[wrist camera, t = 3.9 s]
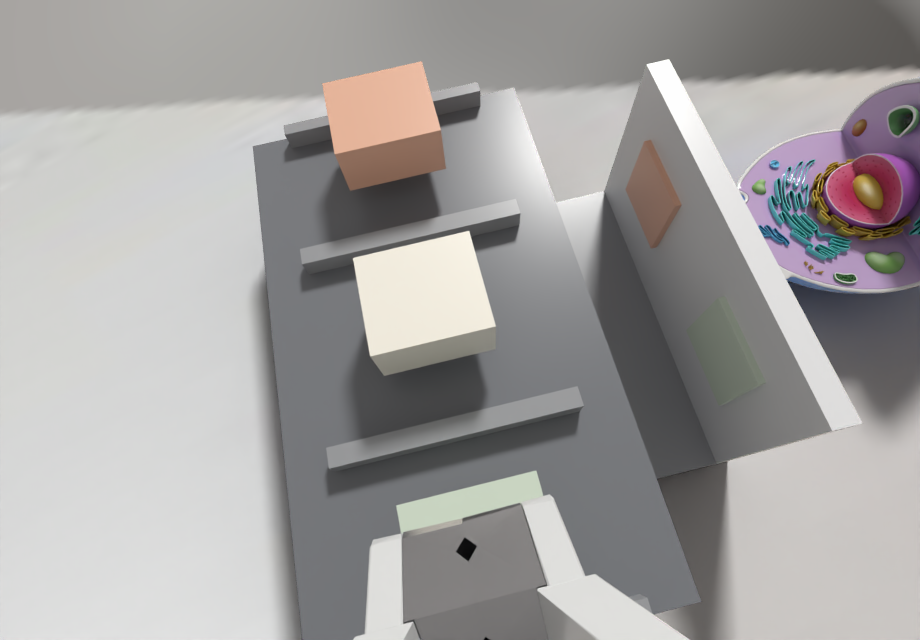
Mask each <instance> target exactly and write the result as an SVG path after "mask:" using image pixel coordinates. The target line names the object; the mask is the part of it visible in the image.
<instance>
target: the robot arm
mask: <svg viewBox="0 0 920 640" xmlns="http://www.w3.org/2000/svg"><path fill="white" fill-rule="evenodd" d="M353 640H690V639H688V638H687V637H685V636H684V635H682V634H681V633H680V632H678V631H677V630H675V629H674V628H672V627H671V626H669V625H668V624H667V623H665V622H664V621H662V620H661V619H659V618H658V617H656V616H655V615H654V614H652V613H651V612H649V611H648V610H646V609H645V608H643V607H642V606H641V605H639V604H638V603H636V602H635V601H633V600H632V599H631V598H629V597H628V596H626V595H625V594H623V593H622V592H620V591H619V590H618V589H616V588H615V587H613V586H612V585H610V584H609V583H607V582H606V581H605V580H603V579H602V578H600V577H599V576H597V575H596V574H593V575H588V576H585V574H584V571H583V569H582V566H581V564H580V562H579V559H578V557H577V554H576V552H575V549H574V547H573V544H572V542H571V540H570V537H569V535H568V532H567V530H566V527H565V525H564V522H563V520H562V517H561V515H560V513H559V510H558V508H557V505H556V503H555V500H554V498H553V497H552V496H551V495H550V494H549V495H545V496H541V497H538V498H534V499H530V500H527V501H523V502H521V504H520V503H517V504H513V505H509V506H505V507H502V508H498V509H494V510H491V511H487V512H483V513H479V514H476V515H472V516H468V517H464V518H462V519H458V520H453V521H449V522H445V523H440V524H436V525H432V526H427V527H423V528H419V529H414V530H410V531H406V532H403V533H401V534H396V535H392V536H387V537H383V538H379V539H374V540H373V541H372V544H371V546H370V552H369V569H368V585H367V602H366V618H365V634H363V635H360V636H356V637H354V639H353Z"/></svg>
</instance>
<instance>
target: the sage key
mask: <svg viewBox="0 0 920 640" xmlns="http://www.w3.org/2000/svg"><path fill="white" fill-rule="evenodd" d="M541 496H543V493H542V489H541V485H540V482H539V478H538V475H537V471H532V472H528V473H524V474H520V475H516V476H512V477H508V478H504V479H500V480H496V481H492V482H488V483H484V484H480V485H476V486H472V487H468V488H464V489H460V490H456V491H452V492H448V493H444V494H440V495H436V496H432V497H428V498H424V499H420V500H416V501H412V502H408V503H404V504H400V505H396V507H397V513H398V519H399V524H400V530H401V533H403V532H406V531H410V530H414V529H419V528H423V527H427V526H432V525H436V524H440V523H445V522H449V521H453V520H458V519H462V518H464V517H468V516H472V515H476V514H479V513H483V512H487V511H491V510H494V509H498V508H502V507H505V506H509V505H513V504H517V503H520V504H521V502H523V501H527V500H530V499H534V498H538V497H541Z"/></svg>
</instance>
